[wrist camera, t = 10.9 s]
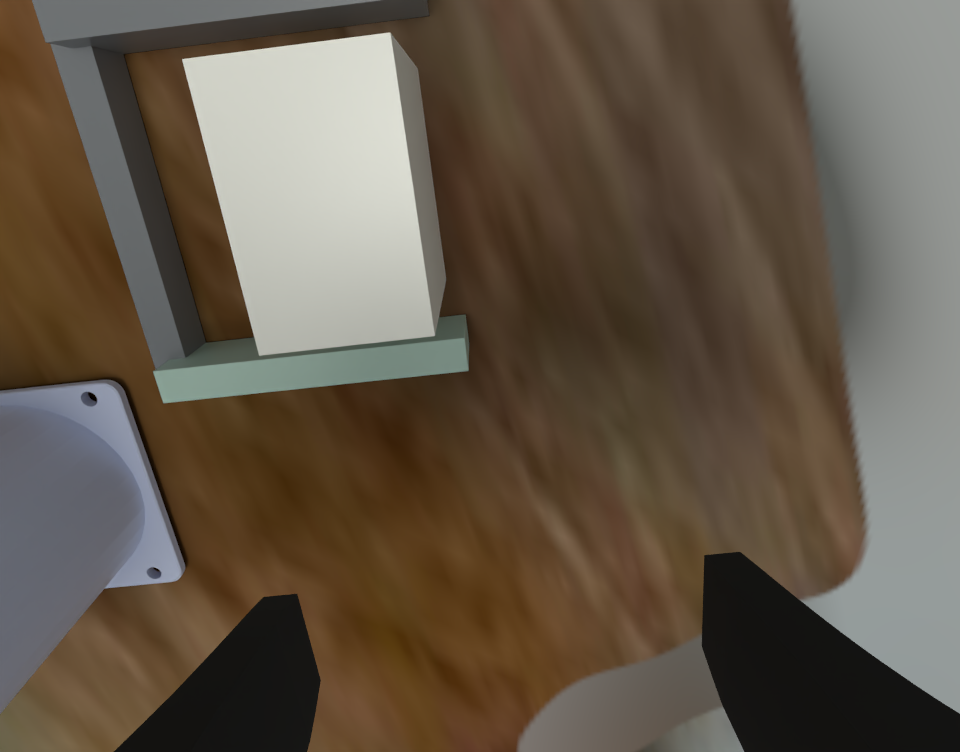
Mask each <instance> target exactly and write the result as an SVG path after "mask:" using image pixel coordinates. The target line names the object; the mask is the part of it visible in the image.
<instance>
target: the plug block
mask: <svg viewBox="0 0 960 752" xmlns="http://www.w3.org/2000/svg"><path fill="white" fill-rule="evenodd" d="M182 61H183V65H184V68H185V72H186V76H187V80H188V84H189V88H190V91H191V95H192V99H193V103H194V107H195V111H196V115H197V118H198V122H199V126H200V130H201V134H202V138H203V142H204V145H205V149H206V153H207V157H208V161H209V165H210V169H211V172H212V176H213V180H214V184H215V188H216V192H217V195H218V199H219V203H220V207H221V211H222V215H223V219H224V222H225V226H226V230H227V234H228V238H229V242H230V246H231V249H232V253H233V257H234V261H235V265H236V269H237V273H238V276H239V280H240V284H241V288H242V292H243V296H244V299H245V303H246V307H247V311H248V315H249V319H250V323H251V326H252V330H253V334H254V338H255V342H256V346H257V350H258V353H259V356H261V355H270V354H279V353H288V352H297V351H306V350H315V349H324V348H333V347H342V346H351V345H360V344H369V343H377V342H386V341H395V340H404V339H413V338H422V337H431V336H435V334H436V329H437V324H438V319H439V314H440V309H441V304H442V299H443V294H444V289H445V284H446V274H445V266H444V259H443V252H442V244H441V237H440V229H439V222H438V215H437V207H436V200H435V192H434V185H433V178H432V170H431V163H430V156H429V148H428V141H427V133H426V126H425V119H424V111H423V104H422V96H421V89H420V82H419V74H418V68H417V67H416V66H415V64H414V63H413V62H412V60H411V59H410V58H409V56H408V55H407V54H406V52H405V51H404V50H403V48H402V47H401V46H400V44H399V43H398V42H397V41H396V39H395V38H394V37H393V35H392V34H391V33H382V34H375V35H367V36H359V37H351V38H343V39H336V40H328V41H320V42H312V43H304V44H297V45H289V46H281V47H273V48H266V49H258V50H250V51H242V52H234V53H227V54H219V55H211V56H203V57H195V58H188V59H182Z"/></svg>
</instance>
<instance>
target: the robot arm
mask: <svg viewBox="0 0 960 752" xmlns="http://www.w3.org/2000/svg"><path fill="white" fill-rule="evenodd" d="M88 392H91V393H93V394H94V395H95V396H96V397H97V402H96V401H93V400H92V399H90V397H89V396H88ZM153 567H154V568H157V569H159V570H160V572H158V571H156V570H154V569H153ZM184 571H185V563H184V560H183V558H182V555H181V552H180V549H179V546H178V543H177V540H176V537H175V535H174V532H173V529H172V526H171V523H170V520H169V517H168V514H167V512H166V509H165V506H164V503H163V500H162V497H161V494H160V492H159V489H158V486H157V483H156V480H155V477H154V474H153V471H152V469H151V466H150V463H149V460H148V457H147V454H146V451H145V448H144V446H143V443H142V440H141V437H140V434H139V431H138V428H137V426H136V423H135V420H134V417H133V414H132V411H131V408H130V405H129V403H128V400H127V397H126V394H125V391H124V390H123V388H122V386H120V385H119V384H118V383H117V382H115V381H112V380H96V381H86V382H77V383H68V384H58V385H49V386H40V387H30V388H21V389H12V390H2V391H0V714H1V713H2V711H3V710H4V709H5V708H6V707H7V705H8V704H9V703H10V702H11V700H12V699H13V698H14V697H15V696H16V694H17V693H18V692H19V691H20V690H21V688H22V687H23V686H24V685H25V684H26V682H27V681H28V680H29V679H30V678H31V676H32V675H33V674H34V673H35V672H36V670H37V669H38V668H39V667H40V665H41V664H42V663H43V662H44V661H45V659H46V658H47V657H48V656H49V655H50V653H51V652H52V651H53V650H54V649H55V647H56V646H57V645H58V644H59V643H60V641H61V640H62V639H63V638H64V637H65V635H66V634H67V633H68V632H69V630H70V629H71V628H72V627H73V626H74V624H75V623H76V622H77V621H78V620H79V618H80V617H81V616H82V615H83V614H84V612H85V611H86V610H87V609H88V608H89V606H90V605H91V604H92V603H93V602H94V600H95V599H96V598H97V597H98V595H99V594H100V593H101V592H102V591H103V589H104V588H114V587H125V586H135V585H145V584H156V583H166V582H174V581H177V580H178V579H179V578H180V577H181V576H182V574H183V573H184ZM702 648H703V651H704V654H705V657H706V660H707V663H708V665H709V669H710V671H711V674H712V677H713V680H714V683H715V686H716V688H717V691H718V694H719V697H720V700H721V702H722V705H723V707H724V709H725V712H726V714H727V716H728V718H729V720H730V722H731V724H732V726H733V729H734V731H735V733H736V735H737V737H738V739H739V741H740V743H741V745H742V747H743V750H744V752H960V714H959V713H958V712H956V711H954V710H953V709H951V708H950V707H948V706H946V705H945V704H943V703H942V702H940V701H938V700H937V699H935V698H934V697H932V696H931V695H929V694H928V693H926V692H925V691H923V690H922V689H920V688H919V687H917V686H916V685H914V684H913V683H911V682H910V681H908V680H907V679H906V678H904V677H903V676H901V675H900V674H898V673H897V672H895V671H894V670H892V669H891V668H889V667H888V666H887V665H885V664H884V663H882V662H881V661H879V660H878V659H877V658H875V657H874V656H872V655H871V654H870V653H868V652H867V651H866V650H864V649H863V648H861V647H860V646H859V645H857V644H856V643H855V642H853V641H852V640H850V639H849V638H848V637H846V636H845V635H844V634H842V633H841V632H840V631H839V630H837V629H836V628H835V627H833V626H832V625H831V624H829V623H828V622H827V621H825V620H824V619H823V618H822V617H820V616H819V615H818V614H816V613H815V612H814V611H812V610H811V609H810V608H809V607H808V606H806V605H805V604H804V603H802V602H801V601H800V600H799V599H797V598H796V597H795V596H794V595H792V594H791V593H790V592H789V591H788V590H786V589H785V588H784V587H783V586H781V585H780V584H779V583H778V582H776V581H775V580H774V579H773V578H772V577H770V576H769V575H768V574H767V573H765V572H764V571H763V570H762V569H761V568H759V567H758V566H757V565H756V564H754V563H753V562H752V561H751V560H749V559H748V558H747V557H746V556H744V555H743V554H742V553H741V552H734V553H723V554H713V555H704V589H703V624H702ZM320 681H321V680H320V676H319V673H318V669H317V665H316V662H315V658H314V654H313V651H312V647H311V643H310V640H309V636H308V632H307V629H306V625H305V621H304V618H303V614H302V610H301V607H300V603H299V599H298V596H297V594H291V595H281V596H270V597H263V598H262V599H261V600H260V601H259V602H258V603H257V604H256V605H255V606H254V607H253V609H252V610H251V611H250V612H249V613H248V614H247V615H246V616H245V617H244V618H243V619H242V620H241V621H240V623H239V624H238V625H237V626H236V627H235V628H234V629H233V630H232V631H231V632H230V633H229V635H228V636H227V637H226V638H225V639H224V640H223V641H222V642H221V643H220V644H219V645H218V647H217V648H216V649H215V650H214V651H213V652H212V653H211V654H210V655H209V656H208V657H207V658H206V659H205V660H204V662H203V663H202V664H201V665H200V666H199V667H198V668H197V669H196V670H195V671H194V672H193V673H192V674H191V675H190V676H189V677H188V678H187V680H186V681H185V682H184V683H183V684H182V685H181V686H180V687H179V688H178V689H177V690H176V691H175V692H174V693H173V694H172V695H171V696H170V697H169V698H168V699H167V700H166V701H165V702H164V703H163V704H162V705H161V706H160V707H159V708H158V709H157V710H156V711H155V712H154V713H153V714H152V715H151V716H150V717H149V718H148V719H147V720H146V721H145V722H144V723H143V724H142V725H141V726H140V727H139V728H138V729H137V730H136V731H135V732H134V733H133V734H132V735H131V736H130V737H129V738H128V739H127V740H125V741H124V742H123V743H122V744H121V745H120V746H119V747H118V748H117V749H116V750H115V751H114V752H307V750H308V746H309V742H310V738H311V733H312V727H313V722H314V717H315V711H316V705H317V699H318V693H319V687H320Z"/></svg>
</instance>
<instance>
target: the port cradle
mask: <svg viewBox="0 0 960 752" xmlns="http://www.w3.org/2000/svg"><path fill="white" fill-rule="evenodd" d="M32 2H33V5H34V8H35V11H36V14H37V17H38V20H39V23H40V26H41V29H42V32H43V35H44V38H45V41H46V43H50V44H51V47H52V50H53V53H54V56H55V60H56V63H57V66H58V69H59V72H60V75H61V78H62V81H63V84H64V87H65V90H66V94H67V97H68V100H69V103H70V106H71V109H72V112H73V115H74V118H75V121H76V124H77V128H78V131H79V134H80V137H81V140H82V143H83V146H84V149H85V152H86V155H87V158H88V161H89V165H90V168H91V171H92V174H93V177H94V180H95V183H96V186H97V189H98V192H99V195H100V199H101V202H102V205H103V208H104V211H105V214H106V217H107V220H108V223H109V226H110V229H111V233H112V236H113V239H114V242H115V245H116V248H117V251H118V254H119V257H120V260H121V263H122V267H123V270H124V273H125V276H126V279H127V282H128V285H129V288H130V291H131V294H132V297H133V300H134V304H135V307H136V310H137V313H138V316H139V319H140V322H141V325H142V328H143V331H144V334H145V338H146V341H147V344H148V347H149V350H150V353H151V356H152V359H153V362H154V365H155V368H156V370H154V371H153V373H154V376H155V379H156V382H157V385H158V388H159V391H160V394H161V397H162V400H163V403H170V402H179V401H189V400H198V399H208V398H217V397H227V396H236V395H246V394H255V393H264V392H274V391H283V390H293V389H302V388H312V387H321V386H331V385H340V384H350V383H359V382H368V381H378V380H387V379H397V378H406V377H416V376H425V375H435V374H444V373H454V372H463V371H469V338H468V330H467V322H466V314H465V315H456V316H447V317H439V319H438V324H437V329H436V334H435V336H431V337H422V338H413V339H404V340H395V341H386V342H377V343H369V344H360V345H351V346H342V347H333V348H324V349H315V350H306V351H297V352H288V353H279V354H270V355H261V356H259V353H258V350H257V346H256V342H255V338H244V339H235V340H226V341H217V342H208V343H206V341H205V337H204V334H203V330H202V327H201V323H200V320H199V316H198V313H197V309H196V306H195V302H194V299H193V295H192V292H191V288H190V285H189V281H188V278H187V274H186V271H185V267H184V264H183V260H182V257H181V253H180V250H179V247H178V243H177V240H176V236H175V233H174V229H173V226H172V222H171V219H170V215H169V212H168V208H167V205H166V201H165V198H164V194H163V191H162V187H161V184H160V180H159V177H158V173H157V170H156V166H155V163H154V159H153V156H152V152H151V149H150V145H149V142H148V138H147V135H146V131H145V128H144V124H143V121H142V118H141V114H140V111H139V107H138V104H137V100H136V97H135V93H134V90H133V86H132V83H131V79H130V76H129V72H128V69H127V65H126V62H125V58H124V55H123V54H128V53H136V52H144V51H152V50H160V49H168V48H176V47H184V46H192V45H200V44H208V43H216V42H224V41H232V40H240V39H248V38H256V37H264V36H272V35H280V34H288V33H296V32H304V31H312V30H320V29H328V28H336V27H344V26H352V25H360V24H368V23H376V22H384V21H392V20H400V19H408V18H416V17H424V16H429V11H428V2H427V0H32Z"/></svg>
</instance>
